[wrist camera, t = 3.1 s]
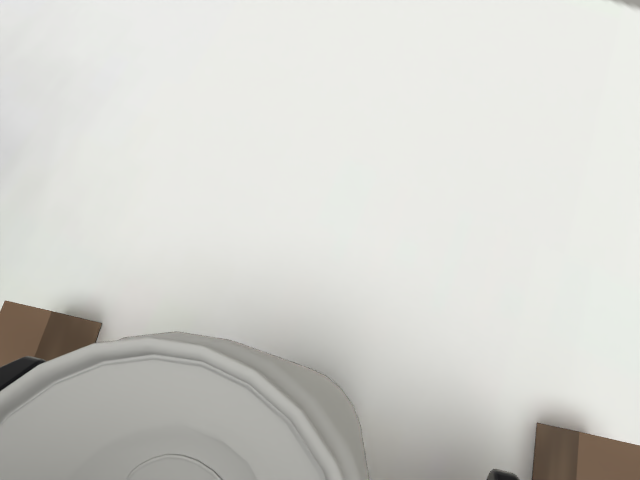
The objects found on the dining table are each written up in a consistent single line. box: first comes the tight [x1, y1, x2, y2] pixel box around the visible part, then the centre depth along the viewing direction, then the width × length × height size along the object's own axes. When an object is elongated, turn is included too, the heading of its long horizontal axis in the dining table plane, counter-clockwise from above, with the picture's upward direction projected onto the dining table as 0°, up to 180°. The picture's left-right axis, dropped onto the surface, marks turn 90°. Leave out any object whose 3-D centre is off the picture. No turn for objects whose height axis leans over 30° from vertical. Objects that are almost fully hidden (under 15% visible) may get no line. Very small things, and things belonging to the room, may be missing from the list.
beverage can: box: [0, 332, 369, 480], centre depth 10 cm, size 5×5×12 cm
